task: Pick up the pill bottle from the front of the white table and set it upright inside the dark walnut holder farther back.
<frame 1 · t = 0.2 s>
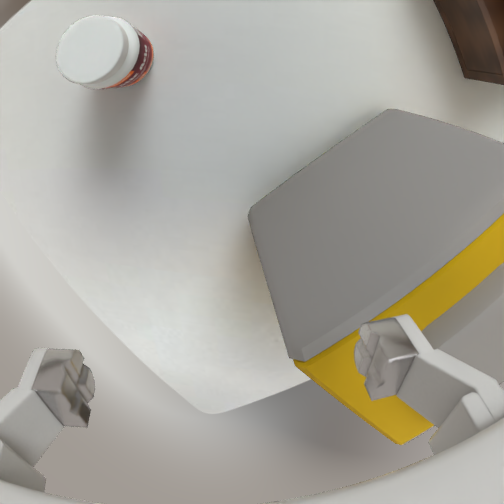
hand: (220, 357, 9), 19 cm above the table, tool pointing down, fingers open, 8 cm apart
pill bottle: (125, 58, 20), on the table
holder: (479, 4, 18), on the table
alarm clock: (364, 226, 30), on the table
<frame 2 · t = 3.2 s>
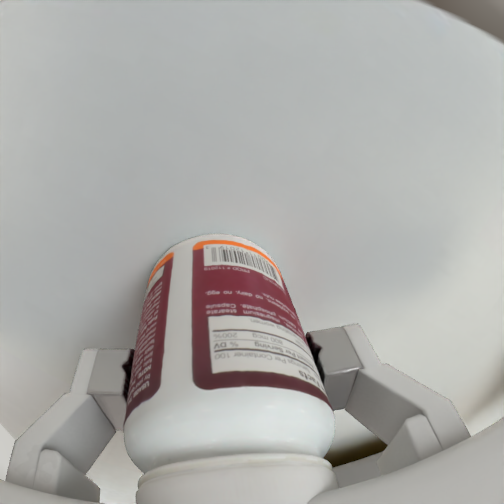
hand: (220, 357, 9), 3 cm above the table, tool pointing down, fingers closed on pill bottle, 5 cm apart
pill bottle: (216, 287, 11), on the table, touching gripper
alarm clock: (348, 470, 25), on the table
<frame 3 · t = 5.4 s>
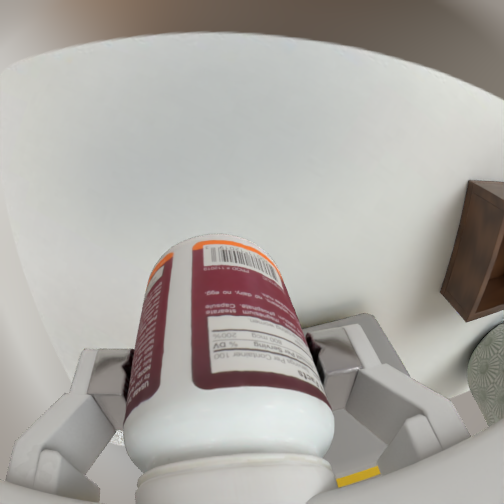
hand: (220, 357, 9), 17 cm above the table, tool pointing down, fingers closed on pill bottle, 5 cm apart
pill bottle: (215, 287, 11), point 14 cm above the table, touching gripper
planter: (489, 342, 43), on the table
holder: (492, 236, 31), on the table
alarm clock: (301, 370, 36), on the table
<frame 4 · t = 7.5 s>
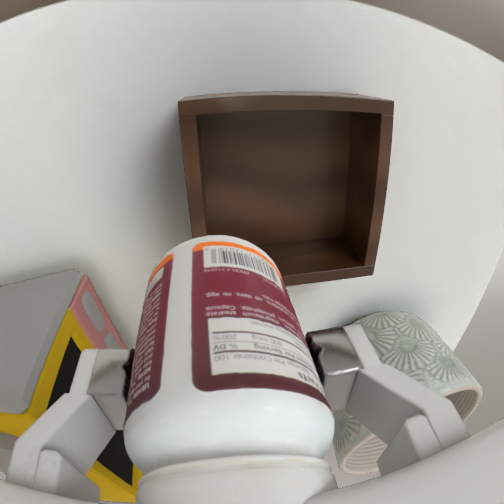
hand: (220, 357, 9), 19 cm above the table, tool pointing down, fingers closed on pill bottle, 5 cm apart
pill bottle: (215, 288, 11), point 16 cm above the table, touching gripper
planter: (366, 340, 39), on the table
holder: (277, 175, 26), on the table
alarm clock: (69, 334, 32), on the table
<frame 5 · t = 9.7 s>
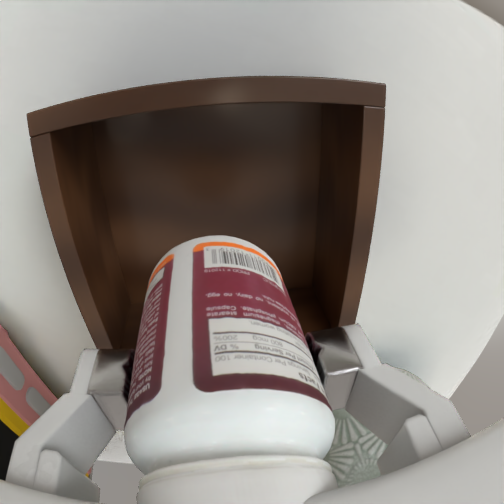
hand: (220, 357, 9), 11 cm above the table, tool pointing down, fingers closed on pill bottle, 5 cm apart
pill bottle: (216, 288, 11), point 8 cm above the table, touching gripper
planter: (348, 393, 31), on the table
holder: (212, 203, 18), on the table
alarm clock: (7, 377, 24), on the table
when the fingers open (4 cm above the table, at t = 11.9 s): pill bottle stays where it is, resting on holder.
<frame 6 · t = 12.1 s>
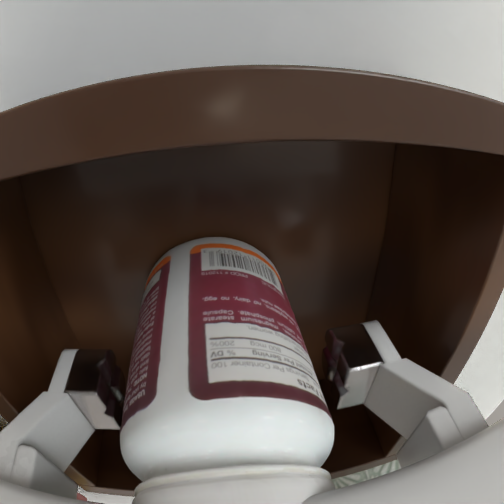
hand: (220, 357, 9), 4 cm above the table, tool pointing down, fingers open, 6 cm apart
pill bottle: (214, 290, 11), point 1 cm above the table, touching holder
planter: (370, 452, 24), on the table
holder: (215, 280, 12), on the table
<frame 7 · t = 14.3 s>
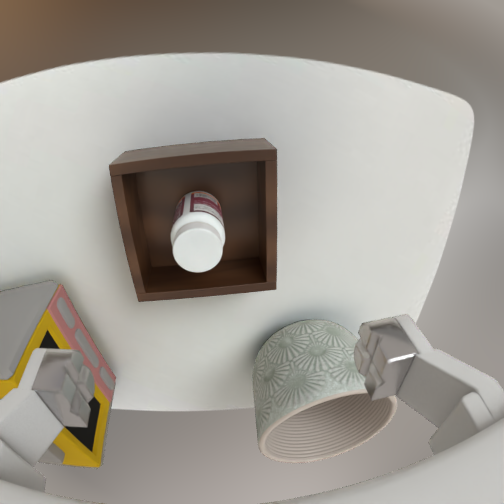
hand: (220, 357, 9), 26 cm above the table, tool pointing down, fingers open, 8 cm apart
pill bottle: (198, 211, 33), point 1 cm above the table, touching holder
planter: (300, 344, 45), on the table
holder: (199, 208, 33), on the table
alarm clock: (52, 332, 39), on the table
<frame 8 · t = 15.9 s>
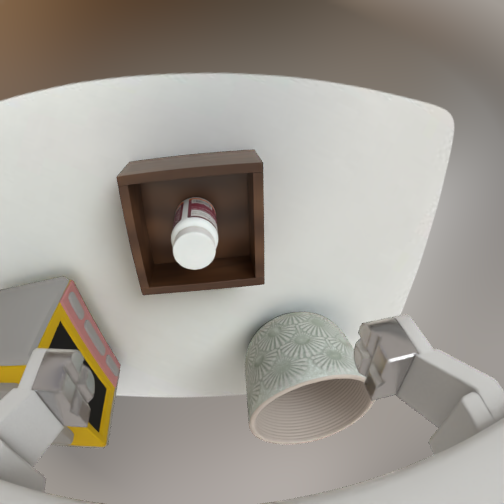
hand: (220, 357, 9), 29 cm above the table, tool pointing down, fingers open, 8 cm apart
pill bottle: (195, 214, 37), point 1 cm above the table, touching holder
planter: (289, 335, 50), on the table
holder: (196, 212, 37), on the table
alarm clock: (61, 323, 43), on the table
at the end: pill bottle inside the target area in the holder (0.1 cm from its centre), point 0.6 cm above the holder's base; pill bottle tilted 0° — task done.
